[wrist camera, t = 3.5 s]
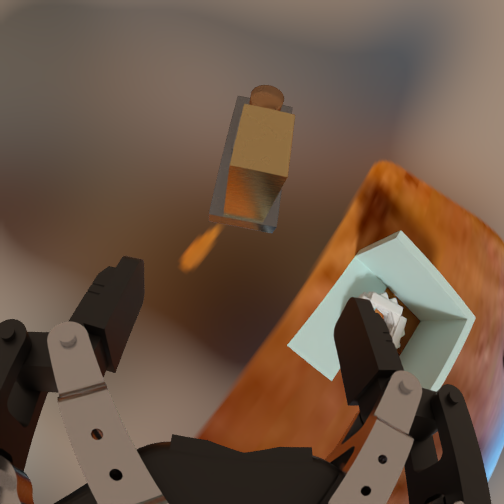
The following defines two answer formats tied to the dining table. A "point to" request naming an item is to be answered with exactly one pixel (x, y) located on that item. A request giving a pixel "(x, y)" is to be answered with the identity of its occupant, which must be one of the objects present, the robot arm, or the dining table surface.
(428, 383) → the right angle wall
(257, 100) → the body
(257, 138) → the lever cap
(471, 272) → the dining table surface
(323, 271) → the dining table surface
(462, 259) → the dining table surface
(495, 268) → the dining table surface
